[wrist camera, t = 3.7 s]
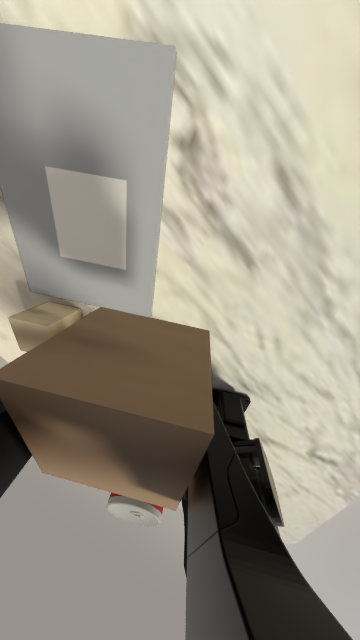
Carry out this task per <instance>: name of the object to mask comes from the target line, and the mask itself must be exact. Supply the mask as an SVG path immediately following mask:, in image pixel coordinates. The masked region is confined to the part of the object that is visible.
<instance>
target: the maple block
mask: <svg viewBox="0 0 360 640" xmlns="http://www.w3.org/2000/svg"><path fill="white" fill-rule="evenodd" d="M8 319H9V322H10V324H11V327H12V329H13V332H14V335H15V337H16V340H17V342H18V345H19V348H20V350H21V351H26V352H28V351H30V350H32V349H33V348H35V347H36V346H38V345H40V344H41V343H43V342H45V341H46V340H48V339H49V338H51V337H53V336H54V335H56V334H58V333H59V332H61V331H62V330H64V329H66V328H67V327H69V326H71V325H72V324H74V323H76V322H77V321H79V320H80V319H82V317H81V309H79V308H74V307H70V306H66V305H61V304H57V303H52V302H47V303H44V304H42V305H39V306H36V307H34V308H31V309H29V310H26V311H23V312H21V313H18V314H15V315H13V316H10V317H8Z"/></svg>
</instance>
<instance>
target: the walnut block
mask: <svg viewBox="0 0 360 640" xmlns="http://www.w3.org/2000/svg"><path fill="white" fill-rule="evenodd" d="M0 399H1V401H2V403H3V404H4V406H5V408H6V410H7V411H8V413H9V415H10V417H11V418H12V420H13V422H14V424H15V425H16V427H17V429H18V431H19V432H20V434H21V436H22V438H23V439H24V441H25V443H26V445H27V447H28V448H29V450H30V452H31V454H32V455H33V457H34V459H35V461H36V462H37V464H38V466H39V467H40V469H41V471H42V473H45V474H49V475H52V476H56V477H59V478H63V479H66V480H70V481H73V482H77V483H80V484H84V485H87V486H91V487H94V488H98V489H101V490H105V491H108V492H112V493H115V494H119V495H122V496H126V497H129V498H133V499H136V500H140V501H143V502H147V503H150V504H154V505H157V506H161V507H164V508H168V509H171V510H176V509H177V507H178V505H179V503H180V501H181V499H182V497H183V495H184V493H185V491H186V489H187V487H188V485H189V483H190V481H191V480H192V478H193V476H194V474H195V472H196V470H197V468H198V466H199V464H200V462H201V460H202V458H203V456H204V454H205V452H206V450H207V448H208V446H209V444H210V442H211V440H212V438H213V436H214V417H213V397H212V376H211V355H210V334H209V331H208V330H204V329H199V328H195V327H190V326H186V325H181V324H177V323H172V322H168V321H163V320H159V319H154V318H150V317H145V316H141V315H136V314H132V313H127V312H123V311H118V310H114V309H109V308H105V307H100V308H98V309H97V310H95V311H93V312H92V313H90V314H89V315H87V316H85V317H84V318H82V319H80V320H79V321H77V322H76V323H74V324H72V325H71V326H69V327H67V328H66V329H64V330H62V331H61V332H59V333H58V334H56V335H54V336H53V337H51V338H49V339H48V340H46V341H45V342H43V343H41V344H40V345H38V346H36V347H35V348H33V349H32V350H30V351H28V352H27V353H25V354H23V355H22V356H20V357H19V358H17V359H15V360H14V361H12V362H10V363H9V364H7V365H5V366H4V367H2V368H1V369H0Z"/></svg>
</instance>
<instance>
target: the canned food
mask: <svg viewBox="0 0 360 640" xmlns="http://www.w3.org/2000/svg"><path fill="white" fill-rule="evenodd" d="M107 508H108V510H109V511H110V512H111V513H112V514H113V515H115V516H117V517H119V518H121V519H123V520H125V521H128V522H131V523H134V524H138V525H143V526H156V525H159V524H160V521H161V517H162V511H163V507H161V506H157V505H154V504H150V503H147V502H143V501H140V500H136V499H133V498H129V497H126V496H122V495H119V494H115V493H112V492H111V495H110V497H109V500H108V504H107Z"/></svg>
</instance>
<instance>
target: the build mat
mask: <svg viewBox="0 0 360 640" xmlns="http://www.w3.org/2000/svg"><path fill="white" fill-rule="evenodd" d="M175 65H176V47H175V46H172V45H165V44H157V43H149V42H142V41H134V40H126V39H119V38H111V37H103V36H96V35H88V34H80V33H73V32H65V31H57V30H50V29H42V28H34V27H26V26H19V25H11V24H3V23H0V187H1V191H2V194H3V198H4V201H5V205H6V208H7V212H8V215H9V219H10V222H11V226H12V229H13V233H14V236H15V240H16V243H17V247H18V250H19V254H20V257H21V261H22V264H23V268H24V271H25V275H26V278H27V282H28V285H29V288H30V291H31V292H35V293H40V294H44V295H49V296H53V297H58V298H62V299H67V300H71V301H76V302H81V303H85V304H90V305H94V306H99V307H105V308H109V309H114V310H118V311H123V312H127V313H132V314H136V315H141V316H145V317H150V318H151V316H152V307H153V296H154V286H155V275H156V265H157V254H158V244H159V233H160V223H161V212H162V202H163V191H164V181H165V170H166V160H167V149H168V139H169V128H170V118H171V107H172V97H173V86H174V75H175Z"/></svg>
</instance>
